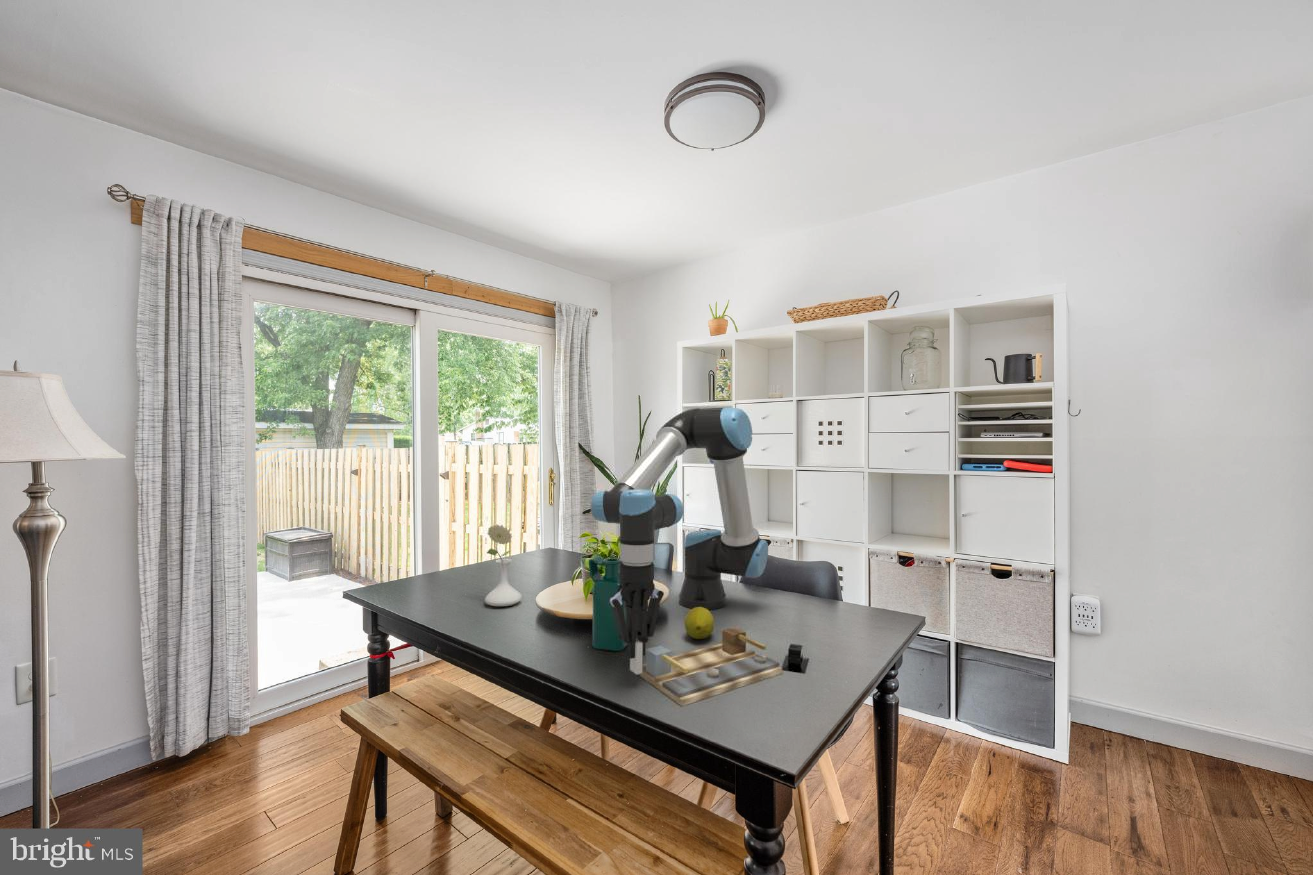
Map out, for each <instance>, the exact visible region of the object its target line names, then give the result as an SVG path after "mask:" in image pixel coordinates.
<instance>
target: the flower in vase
mask: <svg viewBox="0 0 1313 875" xmlns="http://www.w3.org/2000/svg"><path fill="white" fill-rule="evenodd" d="M487 536H489V538H490V539H491V540H492V541H493V542H494V543H495V544H496V546H495V549H493V548H489V549H488V550H487V552H486V554H489V555H492V556H497V555H498V557H499V559H496V560H495V563H496V564H497V567H498V570H499V581H498V584H497V585H496V587H494V588H493V589H492V590H491V591H490V592H489V593H488V594H487V595H486V596H485V598H484V602H485V604H486V605H488V606H489V605H490V606H493V607H508V606H512V605H515V604H517V603H519V602H521V600H522V598H523V596H522V594H521V593H520V592H519V591H518V590H516V589H515V588H514V587H513V586H511V585H510V583H509V582H508V572H509V571H508V570H509V566H510V563H512V561H513V560H512V559H510V558H502V557H505V556H506V555H508V554H509V553H510V552H511V550H512V549H511V550H507V551H505V552H504V553H503V554H501V555H500V553H499V551H498V545H505V544H508V543H511V540H512V538H513V536H512V533H511V530H510V529H508V527H504V525H502V524H501V525H499V524H493V525H491V526H489V527H488V530H487Z"/></svg>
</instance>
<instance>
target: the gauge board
mask: <svg viewBox="0 0 1313 875" xmlns="http://www.w3.org/2000/svg"><path fill="white" fill-rule="evenodd" d="M721 634H722V636H721V637H722V639H721V640H722V643H718V644H714V645H710V646H707V647H703V648H699V649H695V650H691V651H688V652H684V653H679V654H674V655H673V656H672V655H671V658H672V659H674V660H675V661H677V662H679V663H680V664H682V665H684V666H685V667H687V668H688V672H687V673H684V672H682V671H681V670H679V669H678V668H676V667H674V666H673V665H671V673H667V674H664V675H660V676H657V677H654V676H653V675H651V674H650V673H649V672H647V671H646V662H645V663H642V673H640V674H637V675H638V676H639V677H641V678H642V679H643V680H645V681H646V682H647V683H649V684H650V685H651V686H653V687H654V688H656V689H657V690H659V691H660V692H661V693H663V694H664V695H666V696H667V697H668V698H670V699H671V700H673V701H674V702H676V704H678V705H680V706H681V707H684V706H686V705H689V704H693V703H696V702H698V701H702V700H706V699H709V698H711V697H715V696H718V695H720V694H724V693H727V692H730V691H732V690H736V689H738V688H741V687H744V686H747V685H751V684H754V683H757V682H761V681H763V680H766V679H770V678H772V677H773V678H774V677H775V676H778V675H781V674H783V670H782V666H780V662H778V661H776V660H774V659H772V658H769V657H768V656H765V655H763V654H762V653H760V654H755V652H756V651H755V650H753V649H750V650H747V648H746V647H747V644H749V645H751V646H754V647H756V648H758V649H760V650H763V651H765V650H767V646H766V645H765V644H763V643H761V642H758V641H757V640H755V639H752V638H749V637H748V636H747V631H744V630H742V629H740V628H737V627H736V626H733V627H730V628H725V629H722V633H721Z"/></svg>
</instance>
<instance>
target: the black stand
mask: <svg viewBox="0 0 1313 875" xmlns="http://www.w3.org/2000/svg"><path fill="white" fill-rule="evenodd" d="M803 650H804V646H803V645H801V644H795V643H790V644H789V646H788V652H787V654H786V655H785V657H784V660H783V663H782V665H781V668H782V672H783V671H785V672H789V673H790V672H791V673H797V674H806V672H807V668H808V665H809V661H810V658H808V657H804V656H803V655H804V654H803V653H804V652H803Z"/></svg>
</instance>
